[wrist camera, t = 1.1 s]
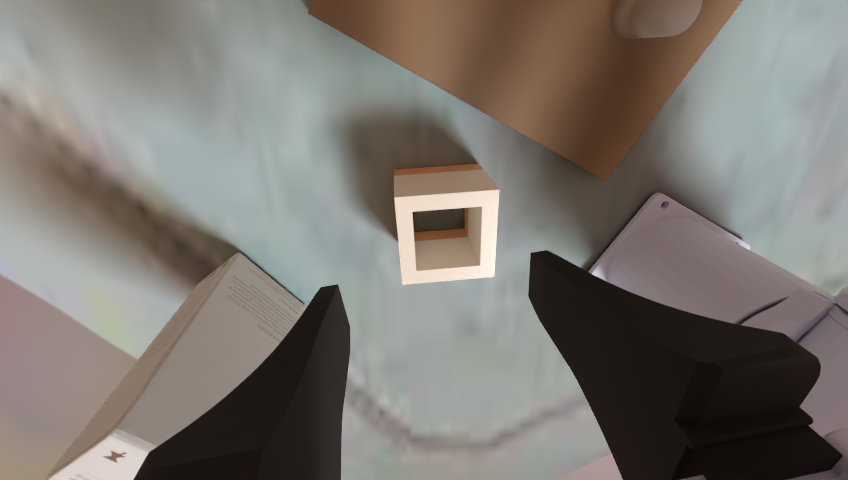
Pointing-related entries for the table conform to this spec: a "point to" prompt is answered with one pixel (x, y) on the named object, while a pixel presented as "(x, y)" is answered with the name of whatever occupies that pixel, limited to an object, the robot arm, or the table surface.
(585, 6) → the pin board
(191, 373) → the skincare box
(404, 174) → the sleeve
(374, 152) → the table surface
